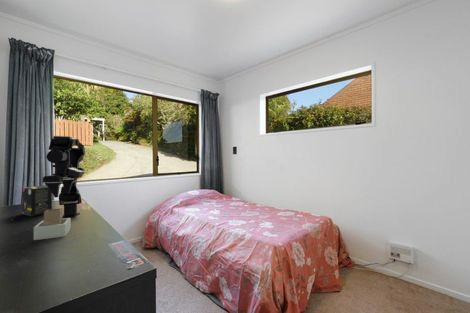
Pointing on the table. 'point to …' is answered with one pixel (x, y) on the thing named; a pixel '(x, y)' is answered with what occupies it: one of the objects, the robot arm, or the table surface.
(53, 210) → the tan upright block
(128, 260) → the table surface
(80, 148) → the robot arm
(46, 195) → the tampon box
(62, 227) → the pale green open tray
